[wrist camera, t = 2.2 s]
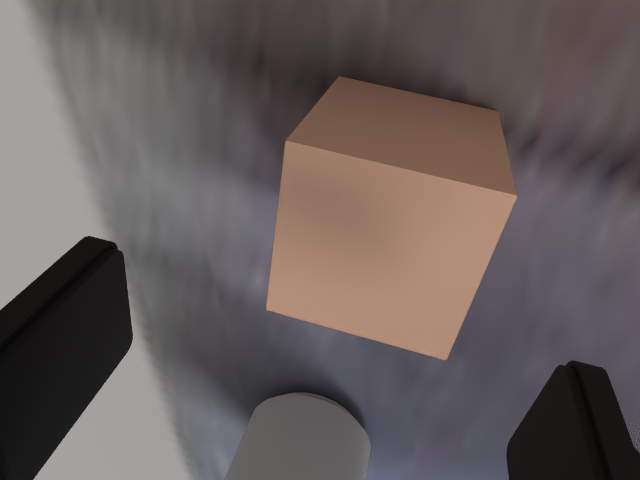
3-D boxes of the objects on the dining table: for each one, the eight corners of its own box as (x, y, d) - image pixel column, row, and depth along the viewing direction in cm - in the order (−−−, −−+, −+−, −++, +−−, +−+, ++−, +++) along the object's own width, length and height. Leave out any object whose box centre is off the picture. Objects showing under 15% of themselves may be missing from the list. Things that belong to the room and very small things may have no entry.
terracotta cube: (497, 110, 18) (517, 195, 12) (449, 243, 21) (446, 360, 15) (339, 76, 18) (285, 140, 13) (316, 210, 22) (265, 309, 16)
